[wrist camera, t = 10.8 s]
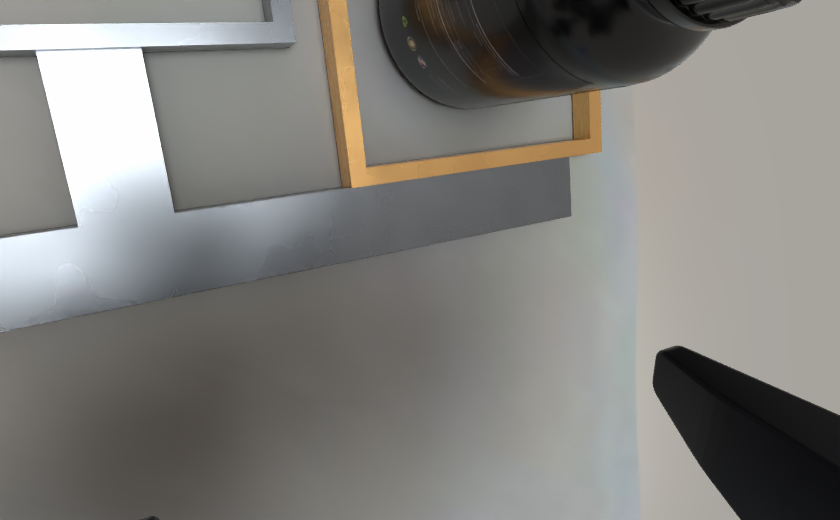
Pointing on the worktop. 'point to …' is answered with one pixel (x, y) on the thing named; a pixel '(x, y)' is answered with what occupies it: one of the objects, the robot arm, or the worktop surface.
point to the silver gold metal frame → (246, 220)
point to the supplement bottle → (548, 43)
